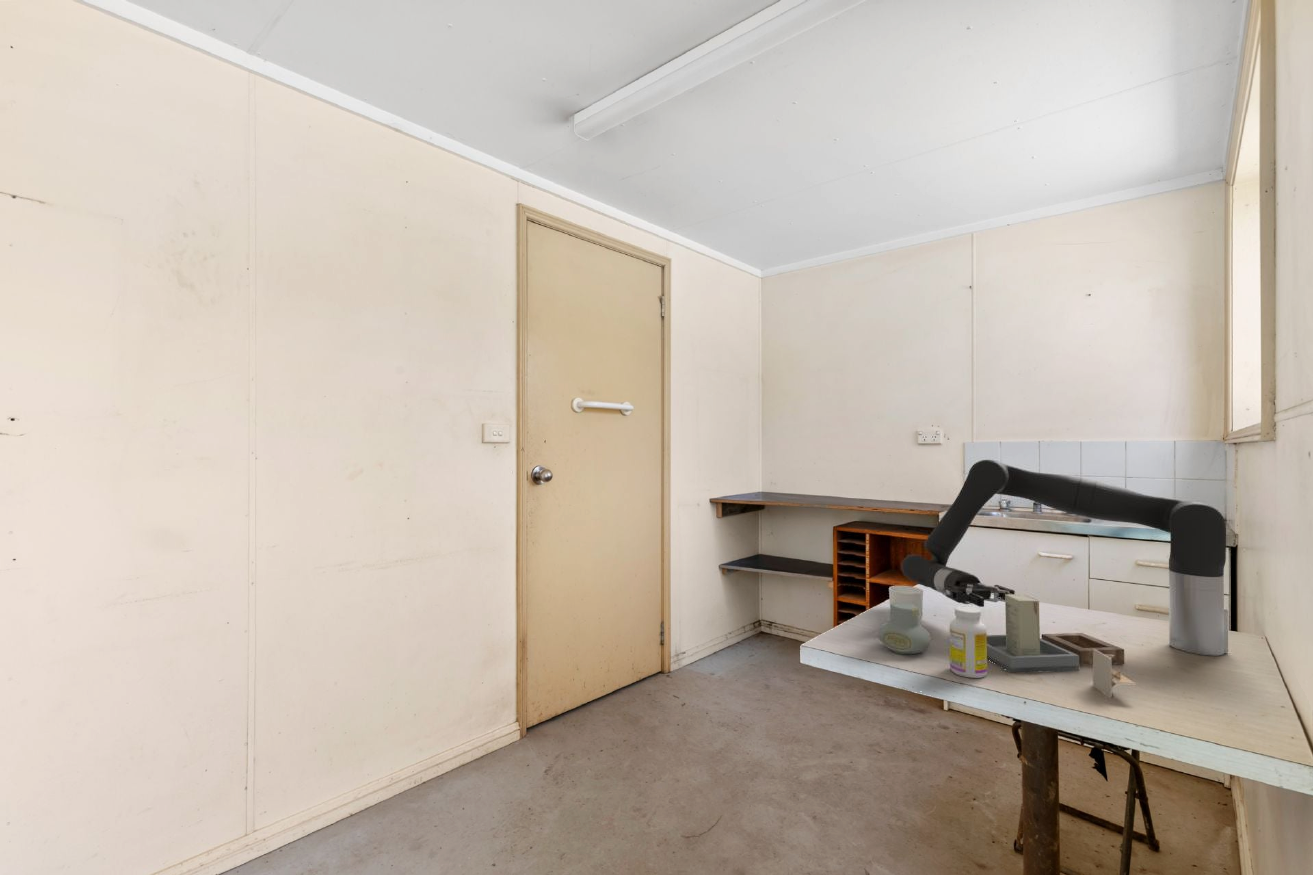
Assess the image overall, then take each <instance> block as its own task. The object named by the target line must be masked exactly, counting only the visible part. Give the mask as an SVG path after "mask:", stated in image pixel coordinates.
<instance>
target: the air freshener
mask: <svg viewBox="0 0 1313 875" xmlns="http://www.w3.org/2000/svg"><path fill="white" fill-rule="evenodd" d="M889 612H890V613H889V615H890V616H889V619H890V621H888V622H886V623H884V624H882V625H881V626H880V628H879V630H878V638H879V641H880V642H881V643H882V644H883V646H885V647H886V648H887V649H889V650H890V651H893V652H894V653H896V654H900V655H914V654H919V653H923V652H925V651H926V650H927V649H928V648H929V647H930V646H931V644H932V637H931V635H930V633H929V631H928V630H927V629H926V628H925V627H924V626H922V625H921V626H920V625H919V608H918V607H917V606H916V605H914V604H910V603H902V602H897V603H892V604H891V605H890V604H889Z"/></svg>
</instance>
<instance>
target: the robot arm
mask: <svg viewBox="0 0 1313 875" xmlns="http://www.w3.org/2000/svg"><path fill="white" fill-rule="evenodd" d="M995 495H1004V496H1010V497H1016V498H1021V499H1025V500H1029V501H1031V502H1034V503H1038V504H1041V505H1043V506H1045V507H1049V508H1052V509H1054V510H1057V511H1061V512H1063V513H1067V514H1072V515H1075V516H1081V517H1085V518H1088V519H1094V520H1099V521H1100V520H1101V521H1109V522H1118V523H1119V522H1120V523H1129V524H1137V525H1141V526H1145V527H1150V528H1152V529H1156V530H1160V531H1162V532H1166V533H1169V534H1170V538H1169V539H1170V543H1169V544H1170V545H1169V546H1170V549H1169V550H1170V552H1169V558H1168V590H1169V591H1168V603H1169V604H1168V606H1169V608H1168V610H1169V611H1168V616H1169V617H1168V620H1169V621H1168V623H1169V624H1168V630H1169V637H1168V638H1169V640H1168V641H1169V645H1170V646H1171V647H1173V648H1174V649H1176V650H1179V649H1180V650H1179V651H1183V652H1187V653H1192V654H1198V655H1202V656H1223V655H1224V654H1226V653H1229V611H1228V609H1226V608H1225V590H1224V589H1225V587H1224V586H1225V584H1224V583H1225V580H1224V578H1225V577H1224V575H1225V573H1224V572H1225V566H1226V562H1227V561H1226V559H1227V556H1226V555H1227V553H1226V552H1227V524H1226V520H1225V518H1224V516H1223V514H1222V513H1221V512H1220V511H1219V510H1218V509H1217V508H1215V507H1214V506H1212V505H1210V504H1207V503H1205V502H1202V501H1198V500H1190V499H1189V500H1187V499H1178V498H1177V499H1176V498H1170V497H1161V496H1155V495H1149V494H1144V493H1141V492H1137V491H1134V490H1130V489H1128V488H1124V487H1121V486H1117V485H1114V484H1109V483H1105V482H1102V481H1098V480H1093V479H1088V478H1083V477H1078V476H1071V475H1065V474H1054V473H1048V472H1047V473H1046V472H1045V473H1044V472H1036V471H1030V470H1027V469H1022V468H1020V467H1019V468H1018V467H1015V466H1011V465H1009V464H1005V463H1002V462H1000V461H998V460H994V459H983V460H979V461H977V462H975V463H973V465H972V466H971V467H970V469H969V471H968V474H967V476H966V479H965V481H964V483H963V485H962V488H961V489H960V491H959V492H958V495H957V496H956V498H955V500H954V501H953V502H952V504H951V506H950V507H949V509H947V511H946V512H945V514H944V515H943V516H942V517H941V519H940V520H939V522H938V523H937V524H936V526H935V527H934V528H933V530H932V531H931V533H929V536H928V537H927V538H926V540H925V542H924V543H923V544H924V548H925V549H926V550H927V551H928V552H929V553H930V554H931V555H932V556H931V559H928V558H925V557H923V556H921V555H919V554H916V553H915V554H909V555H906V557H905V558H903V560H902V561H901V565H900V569H901V572H902V574H903V575H904V576H905V577H906V578H907V579H909V580H912V581H914V582H916V583H917V584H919V585H920V586H923V587H925V588H930V589H932V590H933V591H935V592H938V593H940V594H942V595H943V596H945V597H946V598H948V599H950V600H952V601H954V602H956V603H959V604H963V605H970V604H972V605H975V606H977V607H980V608H983V607H985V602H992V603H997V602H1004V603H1005V594H1015V593H1016V591H1015V589H1011V588H1008V587H1005V586H1002V585H999V584H994V586H993V585H987V584H985V583H981V580H980V579H979V578H978V576H976V575H974V574H972V573H970V572H966V571H963V570H961V569H958V568H955V567H950V566H947V564H948V562H949V558H950V555H951V554H952V553H953V552H954V551H955V549H956V548H957V546H958V544H960V543H961V541H962V539H963V538H964V536H965V535H966V533H967V531H968V529H969V528H970V525H971V524H972V522H973V521H974V518H976V516H977V514H978V513H980V511H981V509H982V508H983V507H984V506H985V505H986V504H987V502H989V501H990V500H991V499H992V498H993V497H994V496H995ZM992 594H993V598H992Z"/></svg>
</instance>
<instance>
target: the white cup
mask: <svg viewBox="0 0 1313 875" xmlns="http://www.w3.org/2000/svg"><path fill="white" fill-rule="evenodd" d="M888 592H889V593H888V595H889V606H890V605H891V604H892V603H897V602H902V603H910V604H914V605H916V606H917V607H918V608H919V625H920V626H922V619H923V618H922V617H923V607H924V606H923V604H924V603H923V602H924V590H923V589H922V588H919V587H915V586H909V585H893V586H889V588H888Z"/></svg>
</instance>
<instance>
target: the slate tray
mask: <svg viewBox="0 0 1313 875" xmlns="http://www.w3.org/2000/svg"><path fill="white" fill-rule="evenodd" d="M988 660H990V661H991V662H990V661H989V662H990V663H992V662H993V663H992V664H994V663H995V664H996V666H997V665H998V667H999V666H1000V668H1001V667H1002V668H1001V669H1003V670H1004V669H1006V670H1005V671H1006V672H1008V671H1009V672H1008V673H1010V674H1017V673H1016V672H1025V673H1040V672H1039V671H1043V672H1042V673H1045V672H1044V671H1050V672H1068V671H1069V672H1070V671H1073V672H1074V671H1080V665H1079V655H1077V654H1074V653H1072V652H1070V651H1068V650H1065V649H1063V648H1061V647H1059V646H1056V645H1054V644H1052V643H1049V642H1047V641H1045V640H1043V639H1042V638H1040V655H1032V656H1016V655H1014V654H1013V653H1011V652H1010V651H1008V650H1007V649H1006V634H987V661H988ZM995 664H994V665H995Z"/></svg>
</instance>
